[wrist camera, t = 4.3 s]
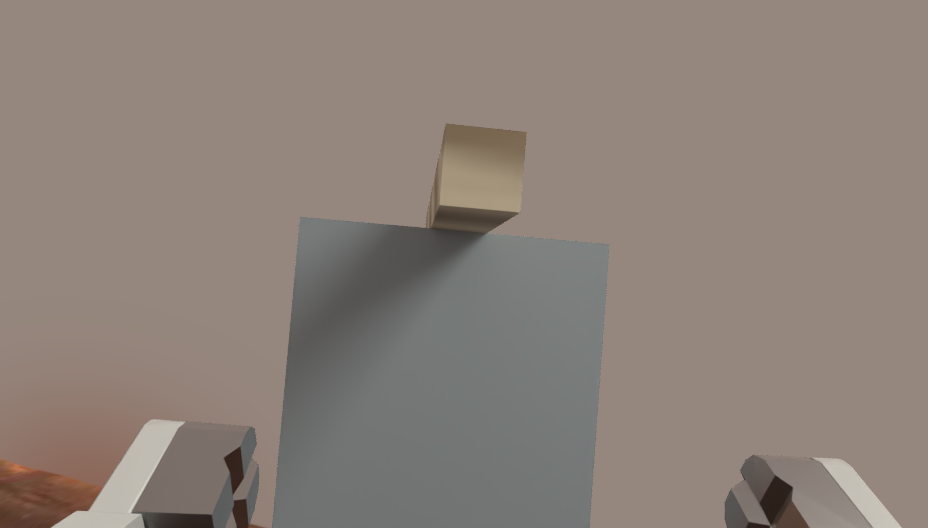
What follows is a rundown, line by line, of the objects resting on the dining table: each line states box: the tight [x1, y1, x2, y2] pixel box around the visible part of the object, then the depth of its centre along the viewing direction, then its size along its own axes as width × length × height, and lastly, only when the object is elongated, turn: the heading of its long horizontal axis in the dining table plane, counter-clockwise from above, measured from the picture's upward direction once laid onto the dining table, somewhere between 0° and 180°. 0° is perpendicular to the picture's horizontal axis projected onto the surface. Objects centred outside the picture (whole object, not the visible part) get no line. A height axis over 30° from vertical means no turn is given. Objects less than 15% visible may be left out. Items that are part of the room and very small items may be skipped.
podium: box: [272, 217, 609, 528], centre depth 30 cm, size 12×14×26 cm
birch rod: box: [426, 124, 526, 233], centre depth 29 cm, size 24×2×2 cm, turn 5°
